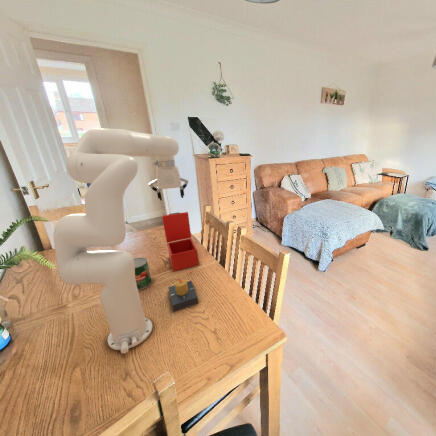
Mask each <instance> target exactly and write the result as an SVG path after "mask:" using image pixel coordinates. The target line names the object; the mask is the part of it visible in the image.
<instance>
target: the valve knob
mask: <svg viewBox="0 0 436 436" xmlns="http://www.w3.org/2000/svg"><path fill="white" fill-rule="evenodd" d="M187 282H188V281H187V279H182V278H179V279H178V280H177V281H175V282H174V285H175V288H176V294H177V295H180V296H181V295H185V294H186V293H187V292H188V285H187Z"/></svg>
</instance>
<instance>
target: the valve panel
mask: <svg viewBox="0 0 436 436" xmlns="http://www.w3.org/2000/svg"><path fill="white" fill-rule="evenodd" d="M187 285H188V292H187V293H186V294H185V295H181V296H180V295H177V294H176V288H175V284H174V285H171V286H168V287H167V288H168V294H169V298H170V302H171V307H172V311H173V312H176V311H179V310H182V309H185V308H188V307H191V306H194V305H196V304H199V298H198V295H197V292H196V290H195V287H194V284H193V281H192V280H188V281H187Z"/></svg>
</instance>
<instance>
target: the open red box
mask: <svg viewBox="0 0 436 436" xmlns="http://www.w3.org/2000/svg"><path fill="white" fill-rule="evenodd" d="M166 246H167V251H168V257H169V260H170V264H171V268H172V271H173V272H177V271H181V270H184V269H188V268H192V267H196V266H199V265H200V263H199V255H198V254H199V253H198V250H197V247H196V245H195V243H194V241H193V239H192V237H191V238H187V239H182V240H177V241H172V242H166Z"/></svg>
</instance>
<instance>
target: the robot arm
mask: <svg viewBox="0 0 436 436" xmlns="http://www.w3.org/2000/svg"><path fill="white" fill-rule="evenodd" d="M179 148H180V147H179V143H178V141H177V140H176V138H174V137H172V136H167V135H159V134H153V133H146V132H141V131H140V132H139V131H133V130H129V129H123V128H104V127H103V128H100V127H93V128H90V129H88V130H86V131H85V132H84V133H83V135H82V136H81V137H80V138H79V139H78V141H77V143H76V144H75V146H74V148H73V149H72V151H71V152H70V154H69V156H68V158H67V160H66V171H67V174H68V176H70V178H71V179H73V180H74V181H76V182H78V183H82V184H90V185H89V186H88V187H87V189H86V192H85V194H84V209H85V213H71V214H67V215H64V216H62V217H60V218H59V220H58V221H57V222H56V224H55V225H54V228H53V236H52V237H53V244H54V245H53V246H54V252H55V258H56V264H57V270H58V274H59V277H60V279H61V280H62V282H63V283H65V284H68V285H73V286H80V285H103V286H104V287H103V288H102V290H101V292H100V294H99V301H100V305H101V307H102V310H103V314H104V316H105V319H106V321H107V325H108V327H109V330H110V332H109V334H108V336H107V339H106V341H107V345H108V347H109V348H110V349H112V350H115V351H120V353H121V354H127V353H128V352H129V349H131V348H134V347H137V346H138V345H141V343H143V342H144V341H145V340H146V339H147V338H148V337H150V335H151V334H152V331H153V329H154V328H153V326H154V325H153V322H152V320H151V319H149V318H147V317H145V312H144V309H143V305H142V300H141V296H140V293H139V290H138V289H137V285H136V279H135V261H134V259H135V257H134V256H133V254H132V253H130V252H128V251H125V250H121V249H106V250H102V249H101V250H88V248H109V247H110V248H111V247H116V246H120V245H121V244H122V243H124V241H125V239H126V221H125V210H124V195H125V193H126V190H127V188H128V187H129V185H130V184H131V183H132V182H133V180H134V179H135V178H136V176H137V173H138V168H139V167H138V162H137V160H136V159H135V158H134V157H155V161H153V166H156V167H155V177H156V179H154V180H152V181H150V182H149V183H148V186H149V187H150V189H151V190H153V191H154V192H155V193H157V194H156V195H157V199H159V201H163V198H162V193H161V190H167V189H178V188H179V194H180V197H181V198H182V199H184V197H185V191H184V190H185V189H186V188H187V186H188V184H189V179H186V178H184V177H183V178H182V177H181V174H180V170H179V168H178V166H177V165H176V161H175V156H177V155H178V153H179V151H180V149H179ZM182 182H184V183H183V184H182ZM155 184H157V187H155V186H154V185H155Z"/></svg>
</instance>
